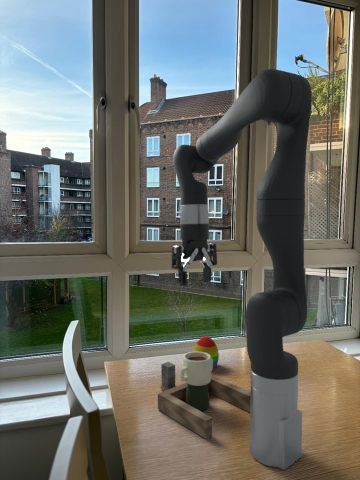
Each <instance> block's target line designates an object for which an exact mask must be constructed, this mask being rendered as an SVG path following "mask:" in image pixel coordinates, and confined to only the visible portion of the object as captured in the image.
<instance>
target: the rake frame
mask: <svg viewBox="0 0 360 480" xmlns="http://www.w3.org/2000/svg"><path fill="white" fill-rule="evenodd" d="M160 365H161V367H160V369H161V385H160V389H161V390H162V392H159V393H157V410H158V409H159V411H160V412H162V413H163V414H165V415H167V416H168V417H169V418H171V419H173V420H175V421H176V422H177V423H179V424H181V425H182V426H184V427H186V428H187V429H189V430H190V431H192V432H194V433H195V434H197V435H198V436H200V437H202V438H204V439H208V438H210V437H212V436H213V417H211V416H210V415H208V414H207V413H204V412H202V411H201V410H197V409H195V408H194V407H192V406H190V405H188V404H186V403H185V396H186V389H187V383H186V382H185V383H182V384H180V385H176V364H174V363H172V362H170V361H167V362H163V363H161V364H160ZM207 387H208V394H209V393H210V394H212V395H213V396H215V397H217V398H219V399H221V400H224V401H225V402H228V403H229V404H232V405H234V406H236V407H238V408H240V409H241V410H244V411H246V412H248V413H250V414H251V390H247V389H245V388H244V387H243V388H242V387H241V386H238V385H237V384H233V383H231V382H228V381H227V380H224V379H222V378H219V377H217V376H214V374H213V375H212V374H211V381H210V383H208V384H207Z"/></svg>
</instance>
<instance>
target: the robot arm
mask: <svg viewBox="0 0 360 480" xmlns="http://www.w3.org/2000/svg"><path fill="white" fill-rule="evenodd" d="M312 104H313V91H312V86H311V84H310V82H309V80H308V79H307V78H306V77H305V76H303V75H300V74H297V73H296V74H295V73H293V72H289V71H285V70H281V69H275V68H268V69H267V68H266V69H265V70H262V71H261V72H260V73H258V74H257V75H256V76H255V77H254V78H252V80H251V81H250V82H249V84H247V86H246V87H245V88H244V89H243V91H241V93H240V94H239V96H238V97H237V98H236V99H235V101H234V102H233V103H232V104H231V106H230V107H228V109H227V111H226V112H225V113H224V115H222V117H221V118H220V119H218V121H217V122H216V123H215V124H213V125H212V126H211V127H209V128H208V129H207V130H206V131H205V132H203V133H202V134H201V135H200V136H199V137H198V139H196V140H197V141H196V143H195V145H191V144H180V145H178V147H176V149H175V150H174V153H173V156H172V161H173V162H172V164H173V168H174V172H175V175H176V177H177V181H178V182H177V183H178V186H179V190H180V213H179V223H180V224H179V225H180V228H179V229H180V234H179V235H180V240H181V243H182V244H181V245H172V247H171V248H172V249H171V269H173V270H176V271H177V272H178V273H177V274H178V278H177V279H178V283H179V286H180V287H181V286H182V287H186V286H188V271H187V269H188V268H189V267H190V265H191V264H192V263H193V262H198V261H199V262H200V263H201V265H202V267H203V268H202V278H203V279H202V280H203V282H204V283H211V282H212V281H211V280H212V268H213V267H214V266H217V264H218V254H217V253H218V252H217V244H216V243H215V242H214V243H213V242H210V243H209V242H208V241H209V239H210V217H209V216H210V214H209V207H208V186H207V184H206V183H205V182H202V181H200V180H197V179H196V178H195V177H194V174H206V173H208V172H210V171H211V170H213V169H214V167H215V165H216V164H217V162H218V161H219V160H220V158H222V157H223V156H225V155H227V154H228V153H229V152H231V151H232V150H233V149H234V148H235V147H236V146H237V145H238V143H239V142H240V139H241V136H242V134H243V130H244V129H245V128H246V127H248V126H250V125H252V124H253V123H256V122H258V121H264V122H270V123H276V125H277V127H276V128H277V131H276V133H277V134H276V135H277V137H276V145H275V152H274V155H273V158H272V159H271V162H270V164H269V165H268V167H267V168H266V170H265V173H264V174H263V177H262V178H261V180H260V182H259V184H258V186H257V191H256V212H255V214H256V218H255V219H256V220H255V221H256V226H257V230H258V233H259V235H260V237H261V240H262V242H263V244H264V246H265V248H266V249H267V252H268V254H269V256H270V259H271V262H272V269H273V285H272V287H273V289H272V290H269V291H261V292H257V293H254V294H253V295H252V296H251V297H250V298H249V299H248V301H247V304H246V309H245V334H246V351H247V355H248V358H249V362H250V392H251V413H250V424H249V425H250V428H249V429H250V440H249V441H250V446H249V448H250V454H251V456H252V457H253V459H254V460H256V461H257V462H259V463H261V464H263V465H266V466H268V467H272V466H273V467H274V468H279V469H281V470H283V471H285V470H286V469H288V468H289V467H291V466H292V465H293V464H295V463H296V462H297V461H299V460H298V459H299V458H300V459H301V458H302V455H303V453H302V449H303V448H302V446H303V443H302V442H303V439H302V438H303V437H302V436H303V412H302V410H300V409H299V407H298V406H299V403H298V402H299V401H298V400H299V399H298V398H299V360H298V358H297V356H295V355H294V354H293V353H291V352H288V351H286V350H284V344H283V343H284V342H283V339H284V338H283V337H288V336H291V335H294V334H295V335H296V334H298V333H299V332H300V331H301V330H303V328H304V327H305V325H306V322H307V318H308V300H307V297H308V296H307V287H306V286H307V285H306V277H305V276H306V275H305V220H306V219H305V217H306V216H305V215H306V167H307V166H306V165H307V146H308V140H309V139H308V138H309V130H310V121H311V114H312V113H311V112H312V106H313V105H312ZM295 461H296V462H295ZM273 467H272V468H273Z"/></svg>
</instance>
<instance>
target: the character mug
mask: <svg viewBox="0 0 360 480" xmlns="http://www.w3.org/2000/svg"><path fill="white" fill-rule="evenodd" d="M213 370H214V369H213V360H212V358H211V356H210V355H209V354H208V353H204V352H193V351H190V352H186V353H184V354H183V355H182V367H181V369H180V370H179V371H180V373H179V375H180V377H179V379H180V382H185V383H187V389H186V396H185V403H186V404H188V405H190V406H192V407H194V408H195V409H197V410H199V411H201V410H205V409H208V408H209V406H210V404H211V403H210V396H209V393H208V387H207V384H208V383H210V381H211V375H212V371H213Z"/></svg>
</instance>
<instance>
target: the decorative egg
mask: <svg viewBox="0 0 360 480" xmlns="http://www.w3.org/2000/svg"><path fill="white" fill-rule="evenodd" d="M192 352H204V353H208V354H209V355H210V356H211V358H212V360H213V370H214V369H215V368H216V367H217V365H218V363H219V359H220V356H219V355H220V354H219V353H220V352H219V349H218V346H217V344H216V342H215V340H214V339H212V338H211V337H210V336H205V335H204V336H203V337H201V338H200V339H198V341H197V342H196V344H195V346H194V348H193V351H192Z"/></svg>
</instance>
